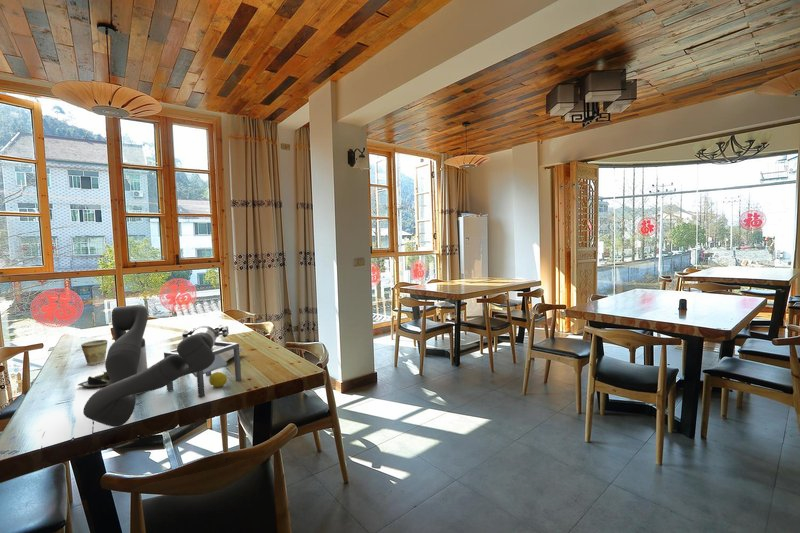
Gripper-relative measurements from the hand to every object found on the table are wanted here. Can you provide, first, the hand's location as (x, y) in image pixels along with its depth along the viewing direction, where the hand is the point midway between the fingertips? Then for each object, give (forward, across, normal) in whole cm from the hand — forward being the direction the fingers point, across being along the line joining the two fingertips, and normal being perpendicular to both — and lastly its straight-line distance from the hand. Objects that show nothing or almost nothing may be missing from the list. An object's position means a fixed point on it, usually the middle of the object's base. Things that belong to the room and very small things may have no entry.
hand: (208, 329), depth 140 cm
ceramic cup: (+71, -57, -24) cm, 94 cm away
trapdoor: (+11, -5, -14) cm, 19 cm away
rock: (+41, -2, -24) cm, 48 cm away
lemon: (+9, -1, -21) cm, 23 cm away
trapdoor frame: (+10, -4, -24) cm, 26 cm away
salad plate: (+34, -42, -25) cm, 59 cm away
